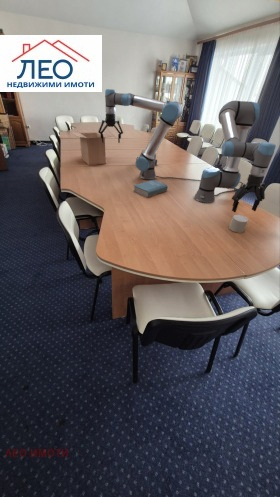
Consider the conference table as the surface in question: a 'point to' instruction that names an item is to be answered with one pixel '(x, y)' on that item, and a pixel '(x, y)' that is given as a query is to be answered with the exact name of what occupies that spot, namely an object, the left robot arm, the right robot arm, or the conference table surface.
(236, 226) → the canister
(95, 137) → the box
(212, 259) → the conference table surface
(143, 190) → the book
